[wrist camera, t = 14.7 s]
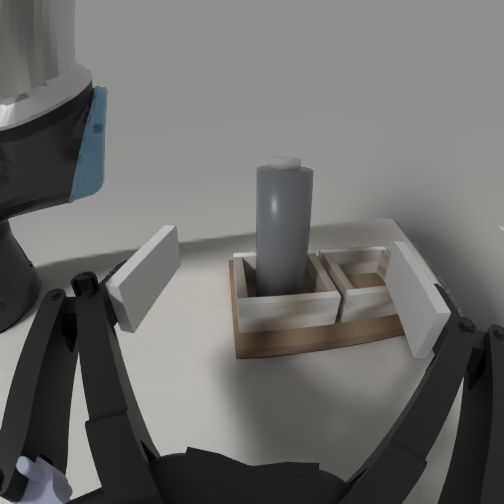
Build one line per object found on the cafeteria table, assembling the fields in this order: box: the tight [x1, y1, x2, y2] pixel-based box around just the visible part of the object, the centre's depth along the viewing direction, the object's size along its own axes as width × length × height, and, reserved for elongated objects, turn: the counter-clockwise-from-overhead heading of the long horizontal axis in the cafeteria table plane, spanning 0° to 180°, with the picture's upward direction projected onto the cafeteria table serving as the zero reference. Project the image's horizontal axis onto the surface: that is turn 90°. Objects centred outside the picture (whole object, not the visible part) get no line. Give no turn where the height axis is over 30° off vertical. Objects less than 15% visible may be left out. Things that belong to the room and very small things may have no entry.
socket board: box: [229, 246, 405, 358], centre depth 27 cm, size 18×14×4 cm
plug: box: [256, 157, 313, 297], centre depth 23 cm, size 4×4×13 cm
